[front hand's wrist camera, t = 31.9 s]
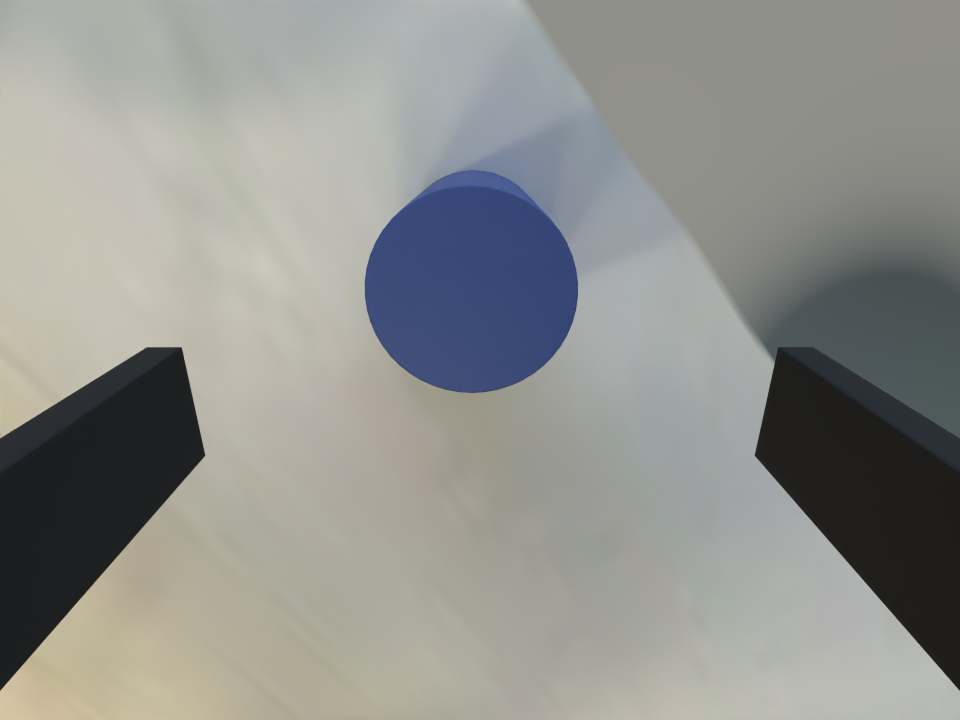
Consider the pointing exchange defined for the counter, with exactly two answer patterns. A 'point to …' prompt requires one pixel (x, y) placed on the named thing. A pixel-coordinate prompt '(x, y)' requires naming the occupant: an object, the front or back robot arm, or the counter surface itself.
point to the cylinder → (471, 284)
